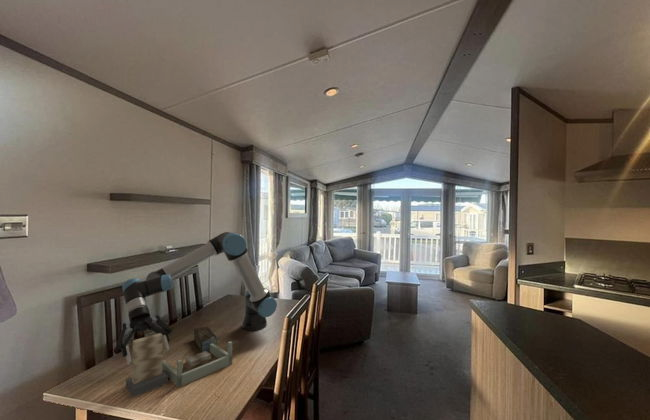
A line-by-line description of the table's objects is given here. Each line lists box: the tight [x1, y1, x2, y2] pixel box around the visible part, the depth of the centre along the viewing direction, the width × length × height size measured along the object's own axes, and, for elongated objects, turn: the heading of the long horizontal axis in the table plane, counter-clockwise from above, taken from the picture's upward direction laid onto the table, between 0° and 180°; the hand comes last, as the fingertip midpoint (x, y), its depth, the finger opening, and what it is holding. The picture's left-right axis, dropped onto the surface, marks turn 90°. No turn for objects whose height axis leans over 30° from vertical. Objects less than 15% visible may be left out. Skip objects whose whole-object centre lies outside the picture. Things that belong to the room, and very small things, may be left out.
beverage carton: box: [193, 325, 218, 353], centre depth 151 cm, size 8×19×7 cm, turn 36°
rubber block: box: [125, 371, 169, 398], centre depth 114 cm, size 12×10×3 cm
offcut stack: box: [182, 351, 212, 373], centre depth 125 cm, size 11×6×6 cm, turn 139°
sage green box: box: [162, 341, 233, 388], centre depth 128 cm, size 24×18×10 cm
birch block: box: [131, 333, 164, 384], centre depth 114 cm, size 10×3×16 cm, turn 139°
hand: (149, 356), depth 113 cm, fingers open, 13 cm apart
